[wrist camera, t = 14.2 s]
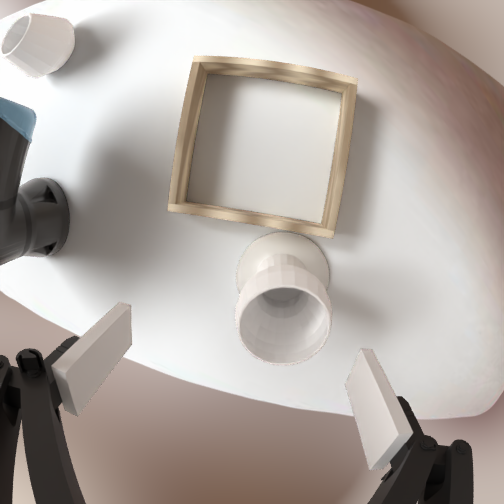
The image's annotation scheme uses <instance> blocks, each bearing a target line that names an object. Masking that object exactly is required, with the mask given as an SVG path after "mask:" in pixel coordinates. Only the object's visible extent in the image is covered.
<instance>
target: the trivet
mask: <svg viewBox="0 0 504 504" xmlns="http://www.w3.org/2000/svg"><path fill="white" fill-rule="evenodd" d="M275 254H289V255H292V256H294V257H296V258H297V259H299V260H300V261H301V262H302V263H303V264H304V266H305V268H306V270H307V271H308V272H310V273H311V274H313V275H315V276H316V277H317V278H318V280H319V281H320V282H321V283H322V284H323V286H324V288H325V290H326V291H327V288H328V284H329V268H328V264H327V261H326V259H325V257H324V255H323V253H322V252H321V250H320V249H319V248H318V246H317V245H316V244H314V243H313V242H312V241H311V240H309V239H308V238H306V237H304V236H302V235H299V234H296V233H292V232H275V233H270V234H267V235H265V236H262V237H260V238H259V239H257V240H255V241H254V242H253V243H252V244H250V245H249V247H248V248H247V249H246V250H245V251H244V253H243V254H242V256H241V258H240V260H239V263H238V266H237V271H236V284H237V288H238V291H239V294H240V292H241V290H242V288H243V287H244V285H245V284H246V282H247V281H248V280H249V279H250V278H251V277H253V276H254V275H255V274H256V272H257V269H258V267H259V266H260V264H261V263H262V262H263V261H264V260H265V259H266V258H268V257H270V256H272V255H275Z"/></svg>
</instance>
